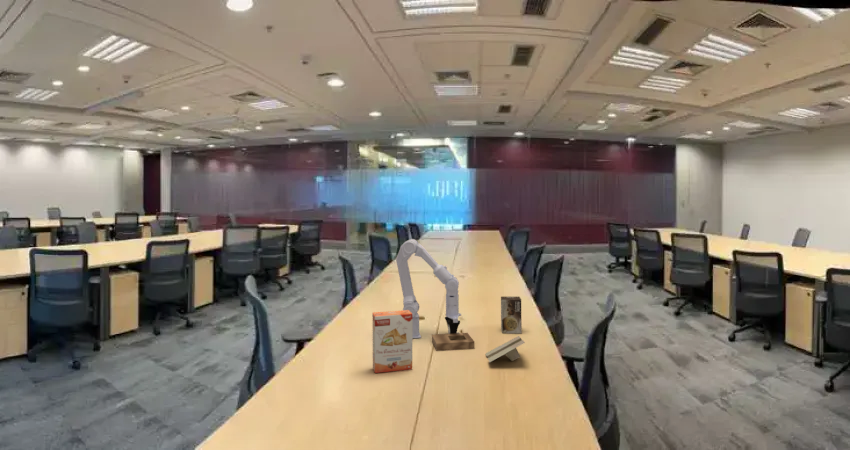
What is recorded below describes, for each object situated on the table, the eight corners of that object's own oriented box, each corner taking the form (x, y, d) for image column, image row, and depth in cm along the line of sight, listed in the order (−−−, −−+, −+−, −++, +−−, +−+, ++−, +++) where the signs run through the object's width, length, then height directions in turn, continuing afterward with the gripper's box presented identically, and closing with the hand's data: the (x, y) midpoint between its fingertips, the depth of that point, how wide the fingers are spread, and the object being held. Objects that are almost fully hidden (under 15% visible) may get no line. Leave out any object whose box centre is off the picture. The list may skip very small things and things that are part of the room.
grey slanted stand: (505, 381, 151) (535, 353, 152) (488, 362, 152) (519, 334, 153) (499, 370, 168) (527, 345, 168) (485, 353, 169) (512, 328, 169)
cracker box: (374, 374, 148) (374, 316, 147) (372, 368, 154) (371, 311, 153) (413, 369, 152) (412, 313, 151) (409, 363, 158) (408, 309, 157)
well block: (436, 350, 171) (436, 343, 171) (431, 341, 183) (431, 334, 183) (474, 348, 174) (474, 341, 174) (467, 339, 186) (467, 332, 185)
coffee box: (520, 329, 200) (520, 296, 199) (521, 333, 193) (521, 299, 192) (500, 329, 200) (500, 296, 200) (501, 333, 194) (501, 299, 193)
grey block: (450, 339, 187) (449, 325, 186) (448, 336, 190) (448, 323, 190) (460, 338, 187) (460, 325, 187) (458, 335, 191) (458, 322, 191)
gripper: (464, 308, 181) (464, 338, 182) (457, 300, 196) (457, 329, 196) (448, 308, 180) (448, 339, 181) (442, 301, 195) (442, 329, 195)
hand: (452, 334), depth 189 cm, fingers closed on grey block, 4 cm apart
